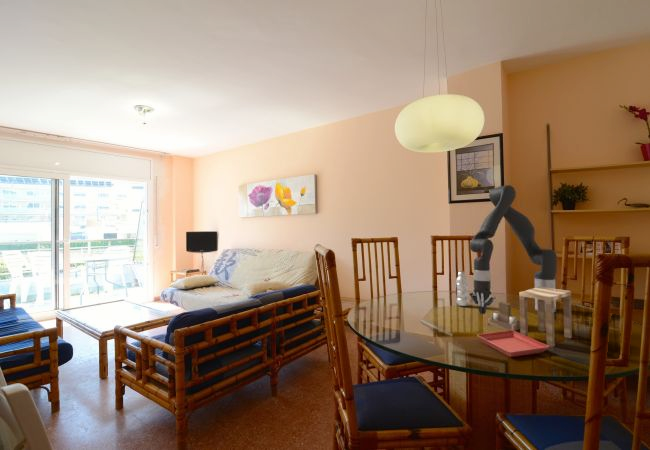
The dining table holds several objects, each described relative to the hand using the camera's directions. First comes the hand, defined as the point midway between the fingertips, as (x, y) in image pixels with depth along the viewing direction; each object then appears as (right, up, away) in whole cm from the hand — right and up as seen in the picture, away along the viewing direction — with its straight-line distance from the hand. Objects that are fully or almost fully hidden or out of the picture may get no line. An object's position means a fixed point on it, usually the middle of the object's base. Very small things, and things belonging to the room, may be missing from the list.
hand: (482, 313), depth 159 cm
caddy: (+6, -4, -9) cm, 12 cm away
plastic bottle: (+2, -4, +28) cm, 28 cm away
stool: (+15, -4, -24) cm, 29 cm away
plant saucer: (-4, -5, -32) cm, 33 cm away
